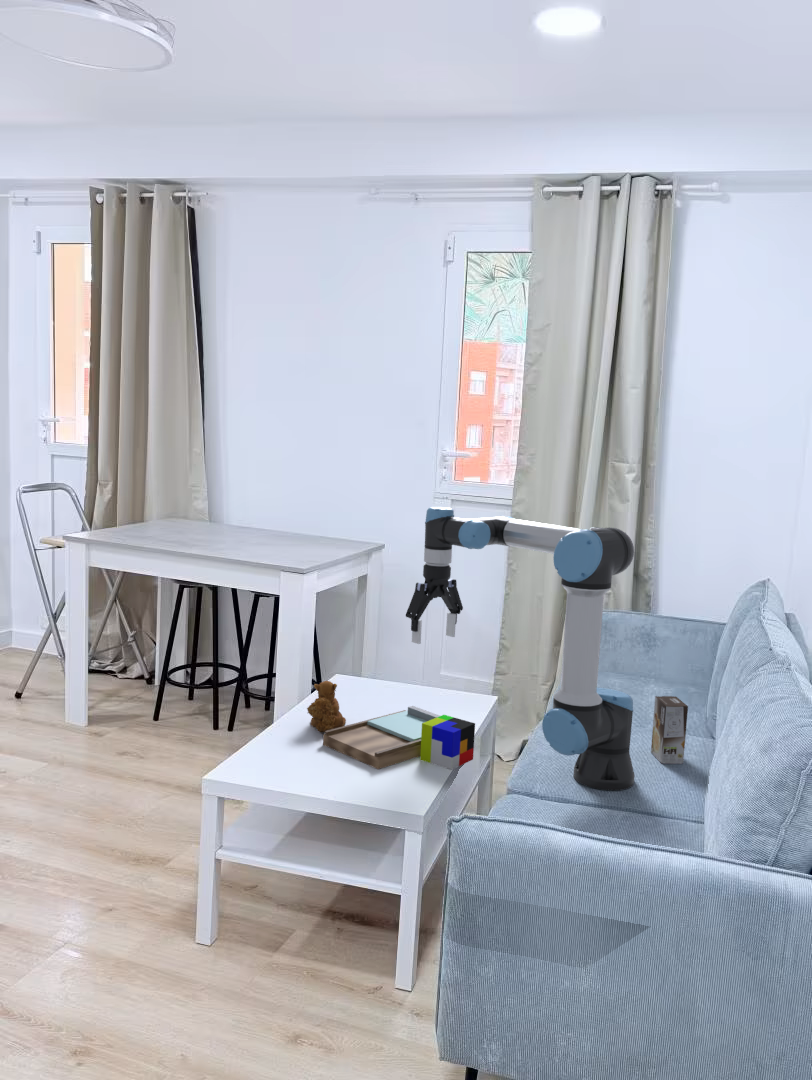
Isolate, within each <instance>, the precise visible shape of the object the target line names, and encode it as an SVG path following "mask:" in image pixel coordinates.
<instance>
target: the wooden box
mask: <svg viewBox="0 0 812 1080" xmlns="http://www.w3.org/2000/svg"><path fill="white" fill-rule="evenodd" d="M403 711H407V710H405V709H403V710H400V711H396V712H393V713H388V714H386V715H385V714H384V715H381V716H377V717H373V718H369V719H367V720H362V721H359V722H355V723H351V724H347V725H346V724H345V725H344V726H343V727H339V728H335V729H331V730H327V731H325V733H323V734H322V735H323V736H322V737H323V738H322V742H323V743H322V745H323V746H325V747H327V748H329V749H331V750H334V751H336V752H338V753H340V754H343V755H345V756H347V757H350V758H352V759H354V760H356V761H358V762H360V763H362V764H364V765H367V766H369V767H372V768H374V769H377V770H381V769H383V768H386V767H389V766H393V765H396V764H400V763H403V762H407V761H409V760H412V759H416V758H419V757H420V754H421V739H419V740H415V741H412V742H410V741H408V740H405V739H403V738H400V737H398V736H395V735H393V734H390V733H388V732H385V731H383V730H380V729H378V728H375V727H373V726H370V725H368V724H367V723H368V721H369V720H373V719H377V718H381V717H384V716H388V715H392V714H396V713H400V712H403Z"/></svg>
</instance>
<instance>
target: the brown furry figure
mask: <svg viewBox="0 0 812 1080" xmlns="http://www.w3.org/2000/svg"><path fill="white" fill-rule="evenodd" d="M313 687H314V688H315V690H316V692H317V694H318V695H317V697H318V698H317V697H316V698H315V700H314V701H312V702H311V703H310V705H308V706H307V707H306V710H307V714H309V715H310V716H311V719H310V725H311V727H313V728H315V730H317V732H319V733H321V734H322V733H323V734H325V731H327V730H331V729H335V728H339V727H343V726H346V723H347V719H346V717H344V716H343V714H342V713H341V712H340V703H339V701H338V699H337V698H336V697H335V696H336V693H335V692H337V688H338V684H337V683H333V682H331V681H330V680H324V681H322V682H320V683H319V684H317V683H314V685H313Z"/></svg>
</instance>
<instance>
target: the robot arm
mask: <svg viewBox="0 0 812 1080" xmlns="http://www.w3.org/2000/svg"><path fill="white" fill-rule="evenodd" d="M454 512H455V511H454V509H453V508H451V507H444V506H431V507H428V509H427V510H426V515H425V521H424V524H425V525H424V528H425V529H424V530H425V532H424V552H423V562H424V564H423V566H422V567H423V571H422V576H423V578H424V582H423V583H422V582H416V583H415V588H414V592H413V594H412V597H411V600H410V602H409V605H408V608H407V610H406V612H405V613H406V614H405V617H406V618H408V619H410V620H411V623H410V627H411V628H410V629H411V630H410V631H411V643H414V644H418V645H420V644H422V642H421V641H422V623H423V621H422V619H421V617H422V615H423V614H424V612H425V610H426V609H427V607H428V605H429V604H430V602H431V601H432V600H434V599H437V598H441V599H442V601H443V602H444V604H445V606H446V608H447V609H448V612H446V633H445V636H447V637H451V638H455V637H456V625H457V622H458V620H457V619H458V615H460V614H461V611H463V610H464V607H463V606H464V605H463V604H462V600H461V596H460V593H459V591H458V587H457V586H458V585H457V579H454V578H451V574H452V573H451V571H452V570H451V569H452V566H451V563H452V557H453V556H452V555H453V554H452V553H453V546H455V547H456V546H457V547H462V548H466V549H469V550H482V549H484V548H485V547H486V546H493V545H499V546H504V547H512V548H517V549H525V550H528V551H529V550H530V551H534V552H535V551H536V552H539V553H546V554H551V555H553V560H552V561H553V566H554V569H555V570H557V574H558V576H559V577H560V578H561V582H560V583H561V586H562V587H563V589H564V590H565V591H566V602H565V603H566V605H565V616H564V617H565V619H564V620H565V621H564V635H563V647H562V648H563V649H562V660H561V661H562V664H561V677H560V678H561V679H560V688H559V690H557V691H556V692H554V694H553V701H552V708H551V709H549V710H548V711H547V712H546V713H545V714H544V716H543V718H542V723H541V725H542V726H541V727H542V728H541V729H542V733H543V735H544V739H545V741H546V742H547V743H549V746H550V748H552V749H553V750H554V751H556V752H557V753H559V754H561V755H563V756H567V757H568V756H574V755H578V757H577V759H576V761H575V763H574V766H573V779H574V780H575V781H576V782H578V783H579V784H582V785H583V786H586V787H588V788H592V789H597V790H602V791H623V790H627V789H630V788H631V787H633V786H634V785H635V771H634V767H633V763H632V759H631V755H630V747H631V735H632V723H633V715H634V714H633V713H634V699H633V698H632V696H631V695H630V694H628V693H626V692H623V691H620V690H615V689H613V688H612V689H611V688H605V687H598V678H599V665H600V651H601V640H602V639H601V636H602V623H603V610H604V598H605V594H607V593H608V592H609V591H610V590H611V589H612V581H613V580H612V579H613V576H615V575H619V574H621V573H623V572H624V571H626V570H627V568H628V567H630V565H631V564H632V562H633V559H634V556H635V547H634V543H633V541H632V539H631V538H630V536H629V535H628V534H627V533H626V532H624V531H623V530H622V529H619V528H616V527H599V526H592V527H590V528H589V529H584V528H577V527H571V526H564V525H557V524H552V523H551V524H550V523H544V522H543V523H542V522H537V521H530V520H523V519H516V518H514V517H513V516H509V515H499V516H491V517H478V518H477V517H475V518H463V517H462V518H461V517H455V513H454Z"/></svg>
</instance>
